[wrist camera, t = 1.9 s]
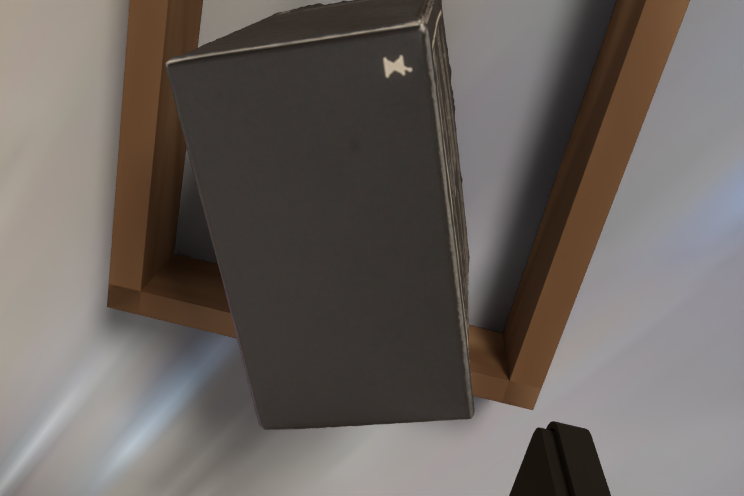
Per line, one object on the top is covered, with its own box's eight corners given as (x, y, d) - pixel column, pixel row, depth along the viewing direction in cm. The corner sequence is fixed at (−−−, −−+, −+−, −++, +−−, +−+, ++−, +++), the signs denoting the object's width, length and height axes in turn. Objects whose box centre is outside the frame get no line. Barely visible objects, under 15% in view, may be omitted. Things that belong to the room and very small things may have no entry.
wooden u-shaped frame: (720, -181, 22) (767, -203, 18) (523, 360, 30) (533, 410, 27) (198, -307, 22) (155, -350, 19) (143, 267, 30) (107, 307, 27)
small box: (259, 11, 25) (144, 52, 16) (441, -18, 24) (437, 6, 15) (314, 278, 29) (249, 440, 20) (473, 261, 28) (486, 424, 19)
